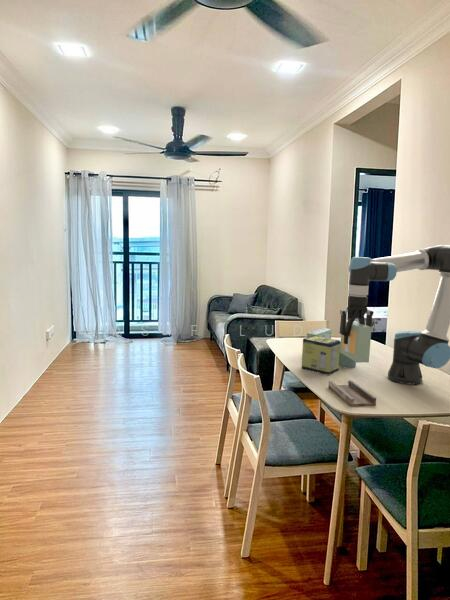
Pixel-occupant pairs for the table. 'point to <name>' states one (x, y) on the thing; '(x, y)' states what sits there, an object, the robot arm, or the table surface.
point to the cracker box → (358, 342)
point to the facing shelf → (353, 394)
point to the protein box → (320, 355)
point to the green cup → (346, 361)
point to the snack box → (321, 333)
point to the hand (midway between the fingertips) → (353, 351)
